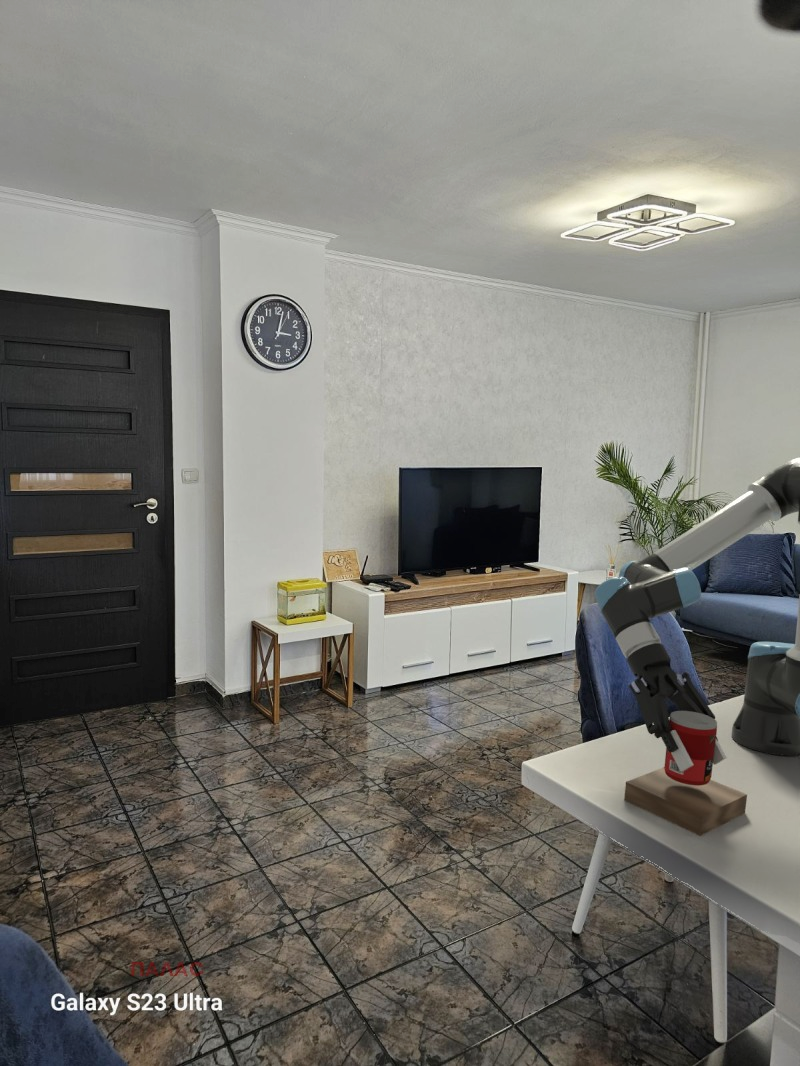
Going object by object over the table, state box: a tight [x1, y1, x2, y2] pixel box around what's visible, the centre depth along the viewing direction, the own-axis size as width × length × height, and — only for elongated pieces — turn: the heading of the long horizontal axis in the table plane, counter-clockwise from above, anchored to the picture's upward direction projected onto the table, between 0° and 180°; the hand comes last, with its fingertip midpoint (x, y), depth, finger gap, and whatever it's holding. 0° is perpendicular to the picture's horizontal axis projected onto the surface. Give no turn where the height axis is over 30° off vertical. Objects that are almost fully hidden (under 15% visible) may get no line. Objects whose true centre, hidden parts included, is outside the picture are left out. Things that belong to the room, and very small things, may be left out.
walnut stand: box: [623, 766, 748, 837], centre depth 136 cm, size 15×15×4 cm
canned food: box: [663, 710, 718, 786], centre depth 135 cm, size 8×8×11 cm
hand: (703, 764), depth 132 cm, fingers closed on canned food, 8 cm apart
